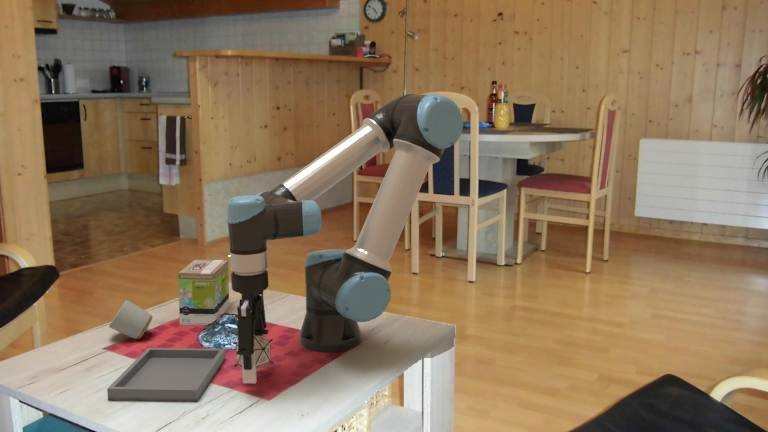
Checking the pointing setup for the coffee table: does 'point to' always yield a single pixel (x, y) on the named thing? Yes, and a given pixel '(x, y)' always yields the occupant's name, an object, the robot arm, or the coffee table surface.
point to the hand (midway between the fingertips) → (254, 373)
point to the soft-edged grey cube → (131, 320)
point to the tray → (167, 375)
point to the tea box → (203, 291)
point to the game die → (258, 352)
